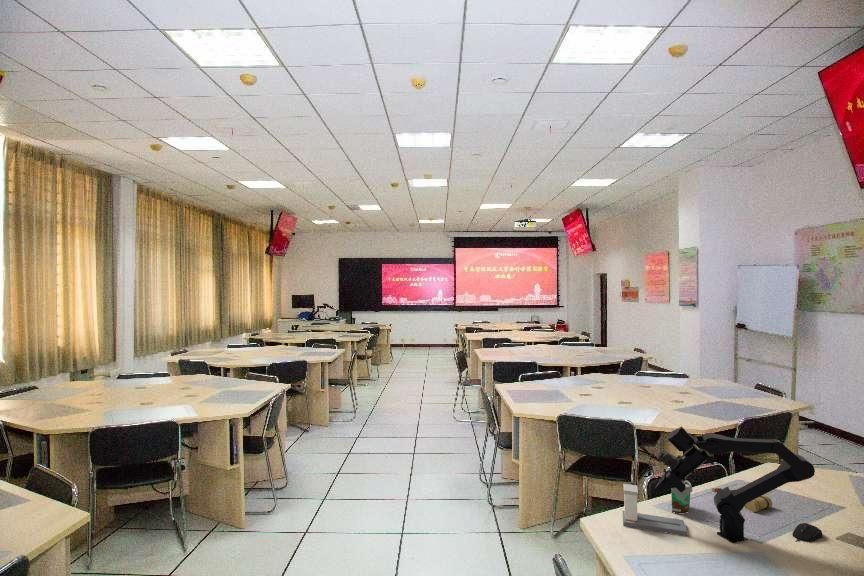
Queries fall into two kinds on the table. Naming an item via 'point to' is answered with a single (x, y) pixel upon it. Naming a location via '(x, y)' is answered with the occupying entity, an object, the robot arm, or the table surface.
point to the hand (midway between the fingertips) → (655, 489)
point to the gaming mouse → (807, 533)
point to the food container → (681, 499)
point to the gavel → (755, 502)
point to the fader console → (657, 524)
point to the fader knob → (630, 501)
